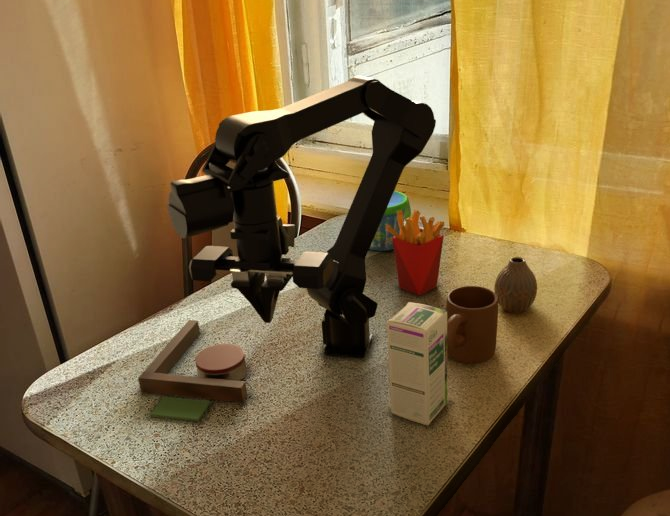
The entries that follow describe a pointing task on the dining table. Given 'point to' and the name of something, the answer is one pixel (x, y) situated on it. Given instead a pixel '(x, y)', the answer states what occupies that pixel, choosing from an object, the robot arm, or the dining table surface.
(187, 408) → the green rag
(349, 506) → the dining table surface
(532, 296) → the vase
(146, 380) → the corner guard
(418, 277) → the french fries
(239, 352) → the tin
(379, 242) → the snack cup
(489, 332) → the mug
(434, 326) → the syrup box
